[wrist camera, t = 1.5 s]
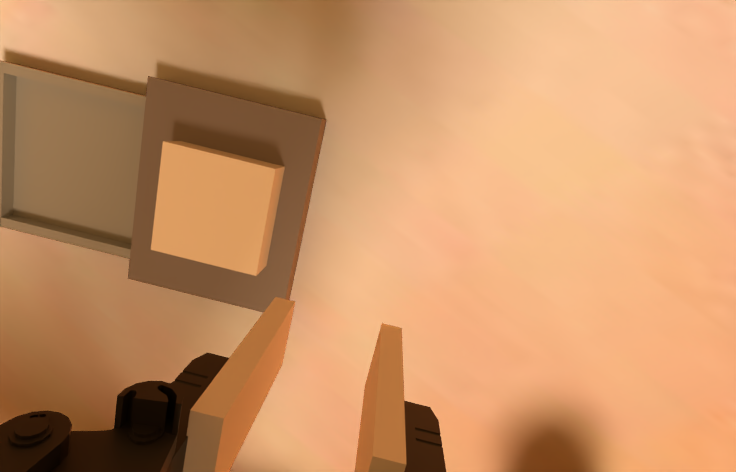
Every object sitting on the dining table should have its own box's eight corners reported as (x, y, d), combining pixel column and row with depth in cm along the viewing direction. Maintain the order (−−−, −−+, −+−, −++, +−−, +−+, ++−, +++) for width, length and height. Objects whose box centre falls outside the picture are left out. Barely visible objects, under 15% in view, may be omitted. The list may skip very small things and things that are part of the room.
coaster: (266, 265, 32) (256, 276, 30) (168, 241, 33) (150, 249, 30) (284, 166, 31) (275, 169, 28) (181, 141, 31) (162, 141, 28)
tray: (143, 254, 35) (132, 259, 34) (8, 220, 35) (-9, 224, 34) (159, 99, 32) (148, 97, 31) (11, 62, 32) (-7, 59, 31)
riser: (287, 307, 35) (281, 316, 33) (142, 270, 35) (127, 278, 34) (326, 120, 32) (321, 118, 30) (163, 79, 32) (148, 76, 30)
